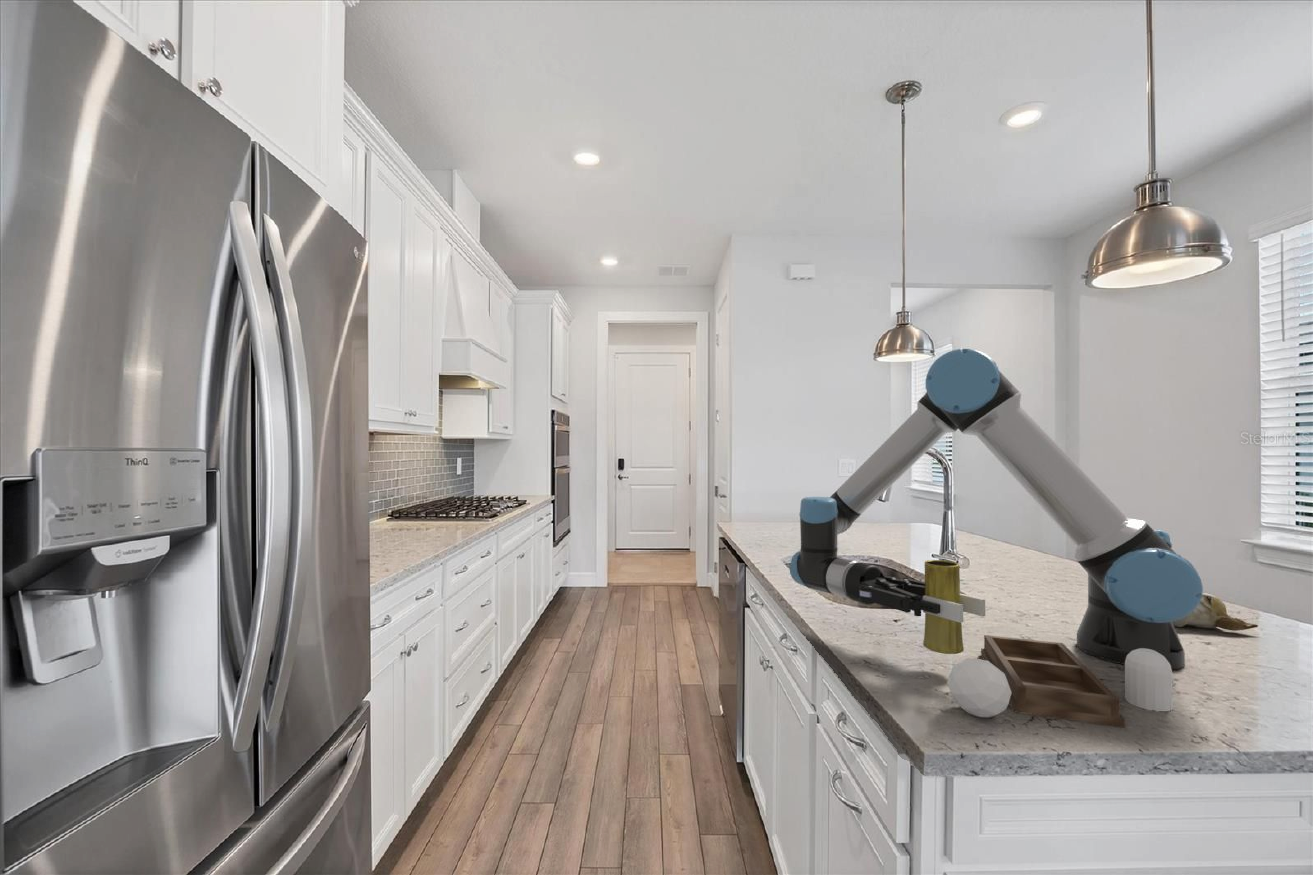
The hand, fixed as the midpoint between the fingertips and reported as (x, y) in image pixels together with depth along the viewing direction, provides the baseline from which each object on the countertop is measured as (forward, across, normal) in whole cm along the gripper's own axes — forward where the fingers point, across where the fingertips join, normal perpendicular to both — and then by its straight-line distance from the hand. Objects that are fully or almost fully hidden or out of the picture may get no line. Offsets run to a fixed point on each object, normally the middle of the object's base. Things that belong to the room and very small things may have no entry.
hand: (972, 610), depth 90 cm
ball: (+6, +9, -12) cm, 16 cm away
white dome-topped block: (+17, -16, -12) cm, 26 cm away
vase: (-5, 0, -8) cm, 9 cm away
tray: (+6, -9, -12) cm, 16 cm away
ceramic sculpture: (+7, -70, -12) cm, 71 cm away
